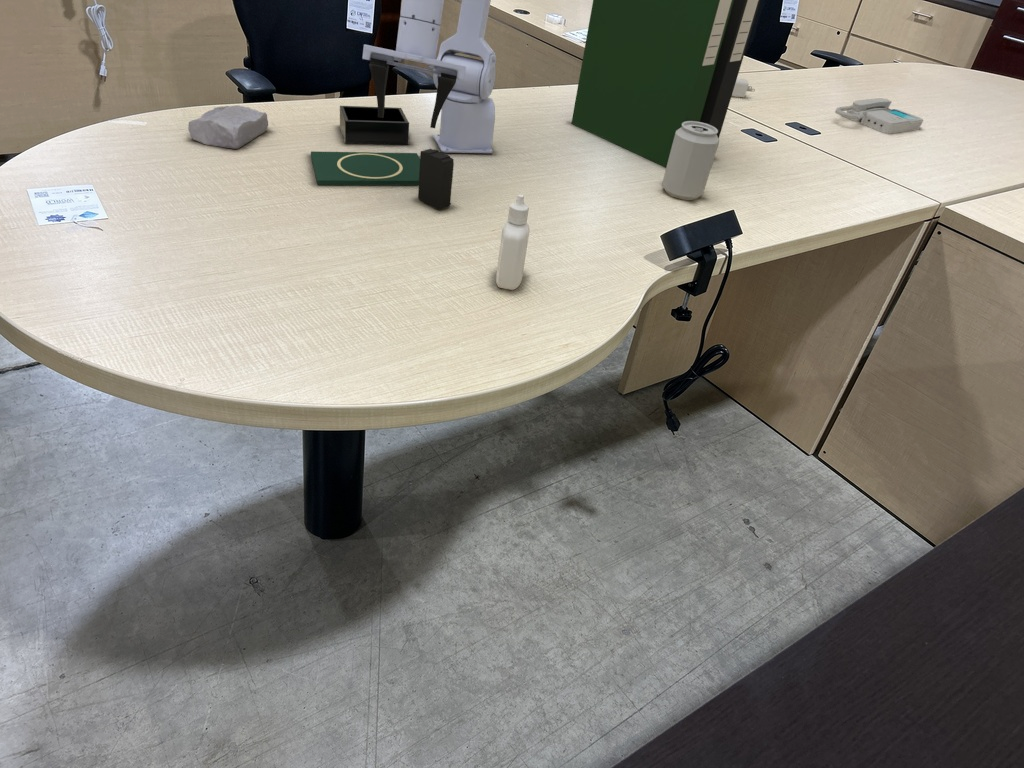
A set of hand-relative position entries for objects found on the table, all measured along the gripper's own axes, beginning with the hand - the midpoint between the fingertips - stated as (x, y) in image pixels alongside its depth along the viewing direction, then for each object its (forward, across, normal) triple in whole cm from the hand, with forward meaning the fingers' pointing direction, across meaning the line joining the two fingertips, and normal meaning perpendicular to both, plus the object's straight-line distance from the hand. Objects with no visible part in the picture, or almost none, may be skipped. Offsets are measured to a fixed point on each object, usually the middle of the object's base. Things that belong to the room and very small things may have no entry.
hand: (406, 122), depth 108 cm
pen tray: (+6, -6, +27) cm, 29 cm away
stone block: (+9, -30, +21) cm, 38 cm away
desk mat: (+9, -5, +12) cm, 16 cm away
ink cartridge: (+11, +6, +1) cm, 13 cm away
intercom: (-16, +113, +73) cm, 135 cm away
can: (+4, +49, +16) cm, 52 cm away
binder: (-2, +46, +41) cm, 62 cm away
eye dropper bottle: (+16, +17, -20) cm, 31 cm away
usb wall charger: (-16, +81, +84) cm, 118 cm away
